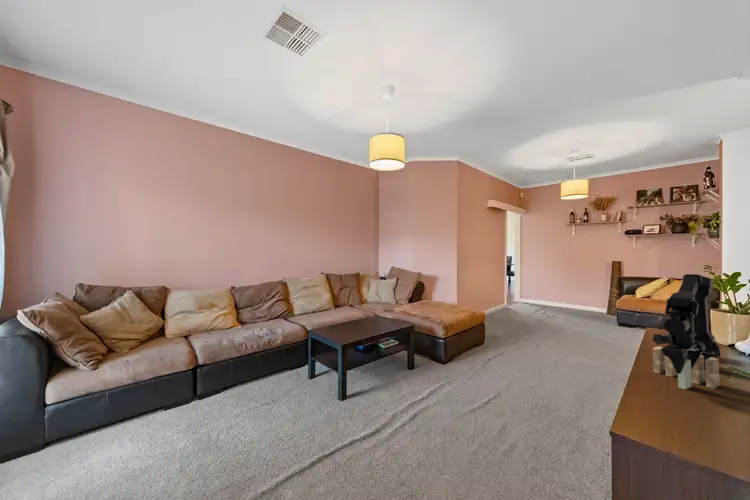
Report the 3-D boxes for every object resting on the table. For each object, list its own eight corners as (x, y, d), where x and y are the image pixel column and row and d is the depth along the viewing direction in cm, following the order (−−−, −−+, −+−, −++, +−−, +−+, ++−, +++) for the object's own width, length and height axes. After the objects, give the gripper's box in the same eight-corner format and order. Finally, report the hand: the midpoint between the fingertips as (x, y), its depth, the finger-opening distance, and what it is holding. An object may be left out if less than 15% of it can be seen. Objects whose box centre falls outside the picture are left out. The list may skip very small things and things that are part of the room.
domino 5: (706, 386, 117) (705, 359, 117) (712, 383, 119) (711, 357, 119) (713, 388, 115) (712, 361, 115) (719, 385, 117) (718, 359, 117)
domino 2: (665, 375, 128) (664, 351, 128) (671, 372, 130) (670, 349, 130) (671, 377, 126) (671, 352, 126) (677, 374, 128) (677, 350, 128)
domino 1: (653, 371, 131) (652, 348, 131) (659, 369, 133) (658, 346, 133) (659, 373, 129) (658, 349, 129) (665, 371, 132) (664, 347, 132)
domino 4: (691, 382, 120) (690, 356, 120) (697, 379, 123) (696, 354, 123) (698, 384, 119) (697, 358, 119) (704, 381, 121) (703, 356, 121)
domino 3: (678, 387, 117) (677, 360, 117) (684, 384, 119) (683, 358, 119) (685, 389, 115) (684, 362, 115) (691, 386, 117) (690, 360, 117)
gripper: (667, 322, 128) (669, 359, 128) (643, 328, 120) (645, 368, 120) (705, 327, 118) (706, 368, 118) (681, 335, 110) (683, 379, 110)
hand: (684, 370), depth 117 cm, fingers open, 9 cm apart
